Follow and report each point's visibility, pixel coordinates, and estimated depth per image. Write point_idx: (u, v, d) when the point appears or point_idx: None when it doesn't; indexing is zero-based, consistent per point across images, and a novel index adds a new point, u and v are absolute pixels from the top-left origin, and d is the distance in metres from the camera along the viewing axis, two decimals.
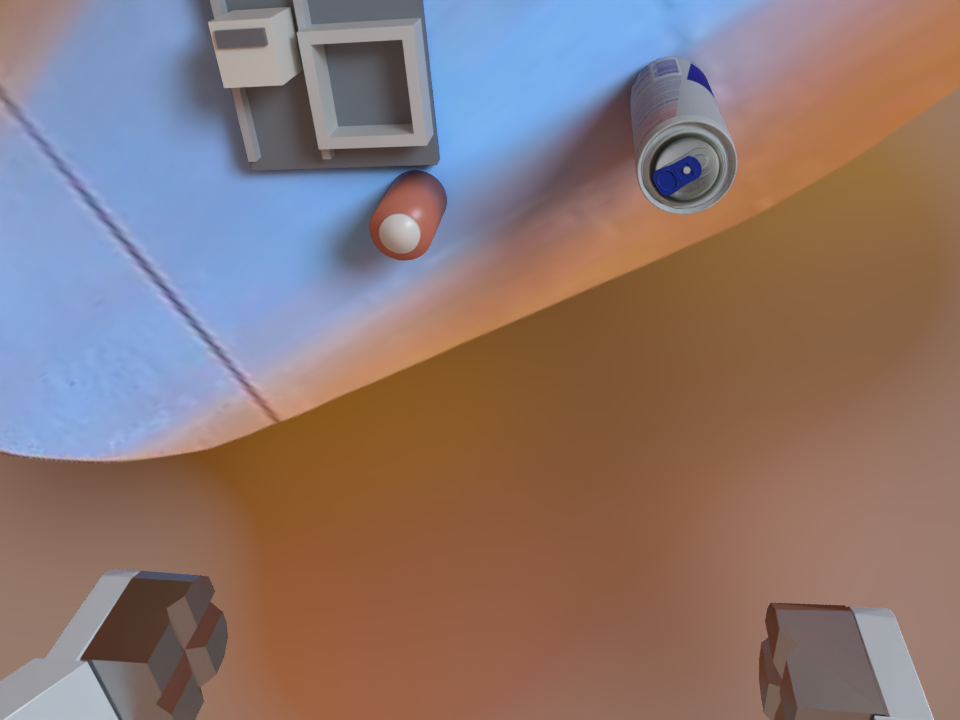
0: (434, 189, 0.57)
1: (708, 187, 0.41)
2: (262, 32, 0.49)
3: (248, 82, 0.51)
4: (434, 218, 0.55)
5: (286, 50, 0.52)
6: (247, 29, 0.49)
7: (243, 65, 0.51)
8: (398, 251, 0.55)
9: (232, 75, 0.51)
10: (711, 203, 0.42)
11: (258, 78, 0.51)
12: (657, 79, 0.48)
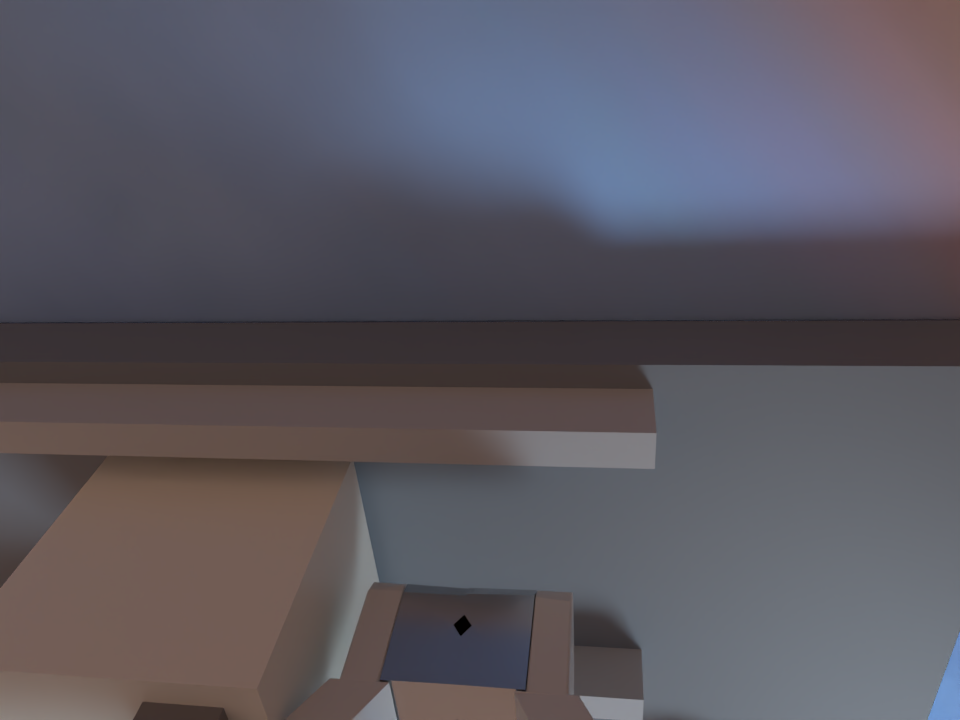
0: None
1: None
2: None
3: None
4: None
5: None
6: None
7: None
8: None
9: (20, 711, 0.10)
10: None
11: None
12: None
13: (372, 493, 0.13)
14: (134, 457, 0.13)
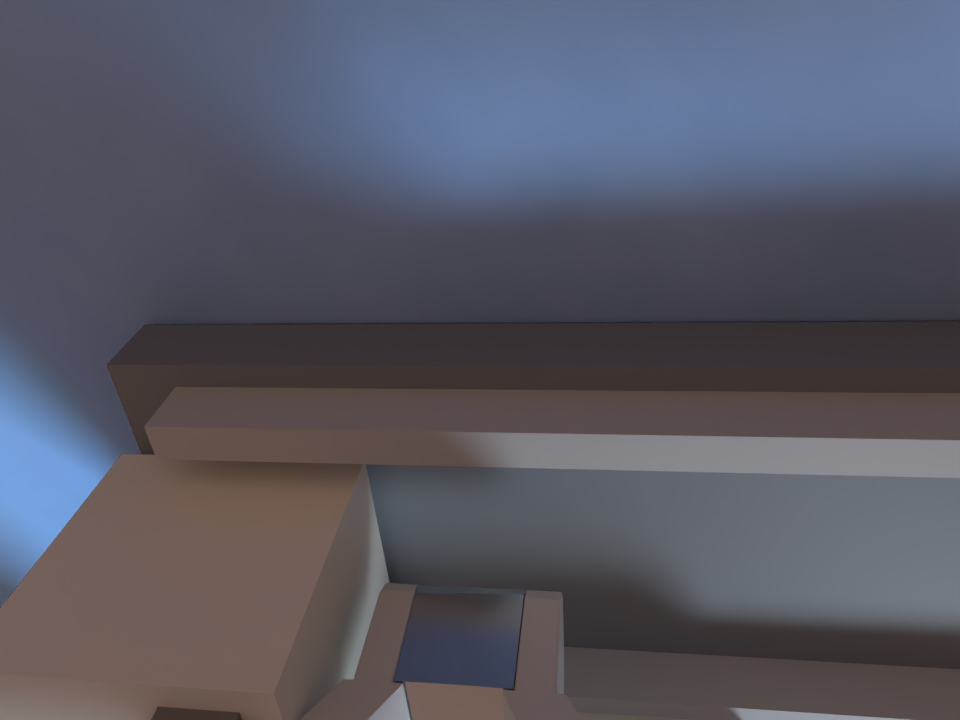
0: None
1: None
2: None
3: None
4: None
5: None
6: None
7: None
8: None
9: (33, 716, 0.10)
10: None
11: None
12: None
13: (819, 508, 0.12)
14: (144, 460, 0.13)
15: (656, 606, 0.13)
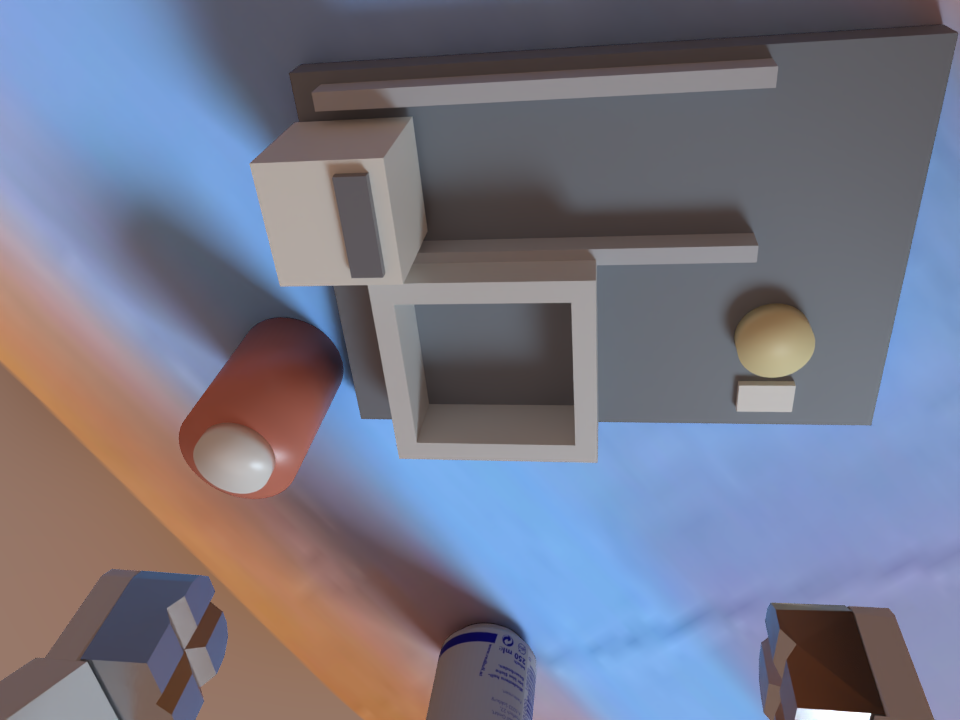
0: None
1: None
2: (375, 272, 0.24)
3: (272, 219, 0.24)
4: None
5: None
6: (376, 248, 0.24)
7: (304, 216, 0.24)
8: (197, 458, 0.28)
9: (280, 188, 0.23)
10: None
11: (283, 241, 0.24)
12: None
13: (622, 135, 0.25)
14: (306, 122, 0.26)
15: (553, 205, 0.27)
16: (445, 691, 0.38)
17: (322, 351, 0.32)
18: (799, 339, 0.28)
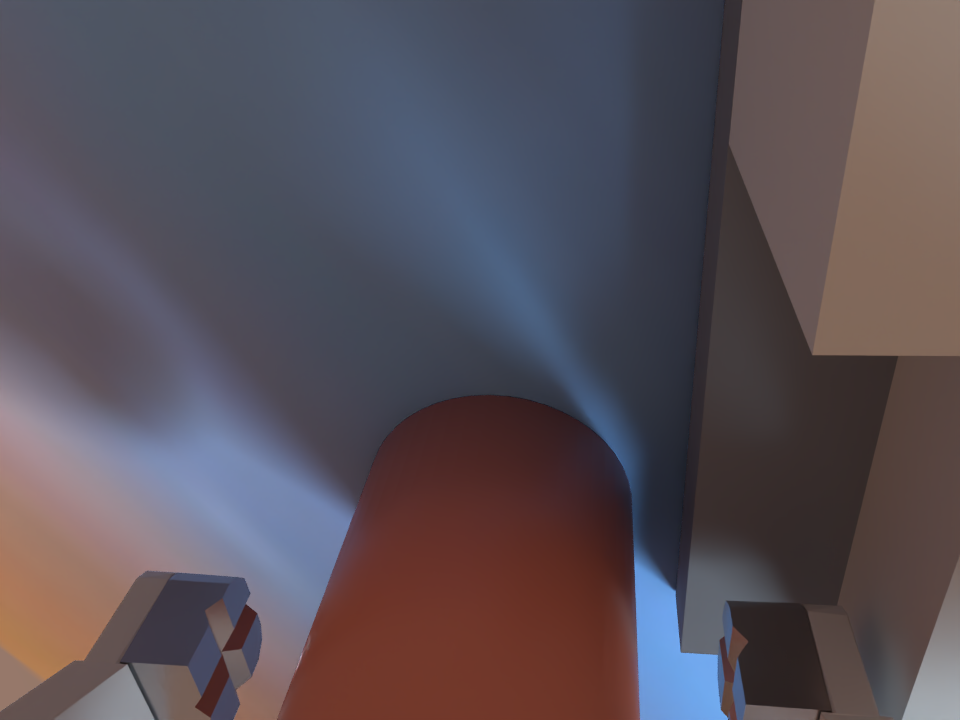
0: None
1: None
2: None
3: None
4: None
5: None
6: None
7: None
8: None
9: None
10: None
11: (956, 95, 0.04)
12: None
13: None
14: None
15: None
16: None
17: (611, 492, 0.12)
18: None
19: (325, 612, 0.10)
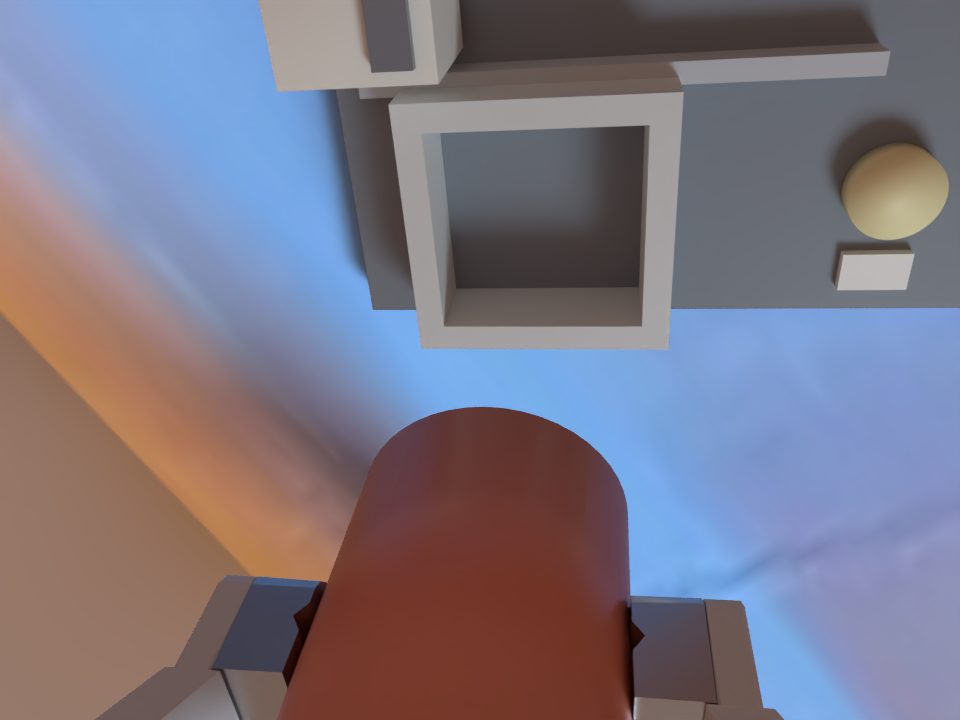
0: None
1: None
2: (402, 64, 0.18)
3: None
4: None
5: None
6: (406, 25, 0.18)
7: None
8: None
9: None
10: None
11: (282, 23, 0.19)
12: None
13: None
14: None
15: (624, 9, 0.21)
16: None
17: (607, 505, 0.12)
18: (928, 186, 0.22)
19: (318, 628, 0.10)
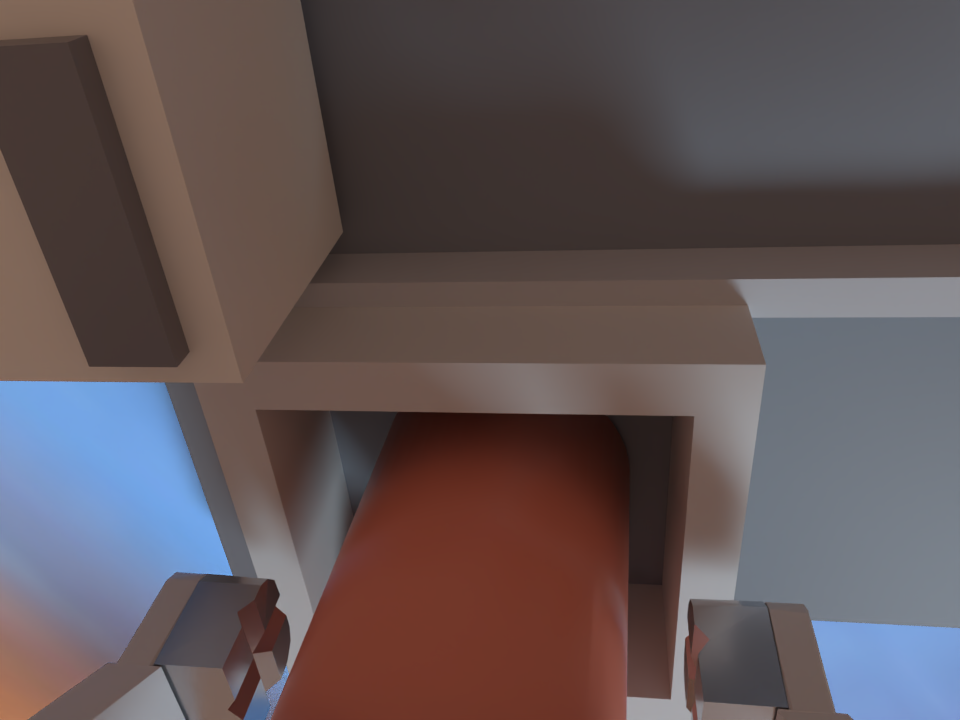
0: None
1: None
2: (155, 352, 0.08)
3: None
4: None
5: None
6: (144, 282, 0.08)
7: None
8: None
9: None
10: None
11: None
12: None
13: None
14: None
15: (642, 172, 0.11)
16: None
17: (608, 458, 0.13)
18: None
19: (343, 557, 0.11)
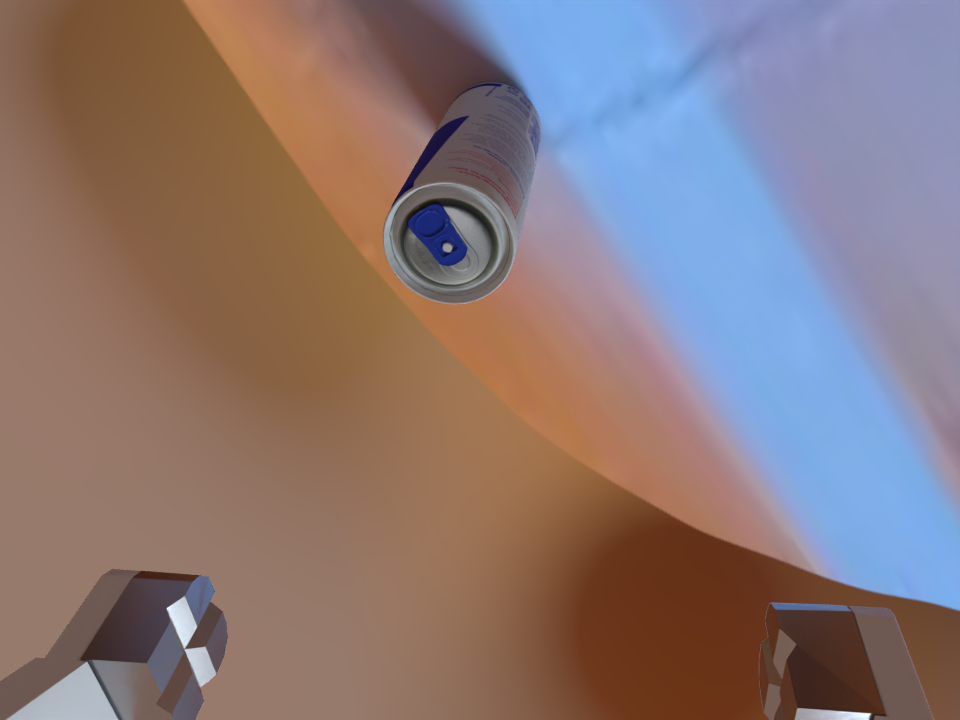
0: None
1: (425, 273, 0.31)
2: None
3: None
4: None
5: None
6: None
7: None
8: None
9: None
10: (401, 277, 0.31)
11: None
12: (528, 138, 0.37)
13: None
14: None
15: None
16: (451, 111, 0.38)
17: None
18: None
19: None
